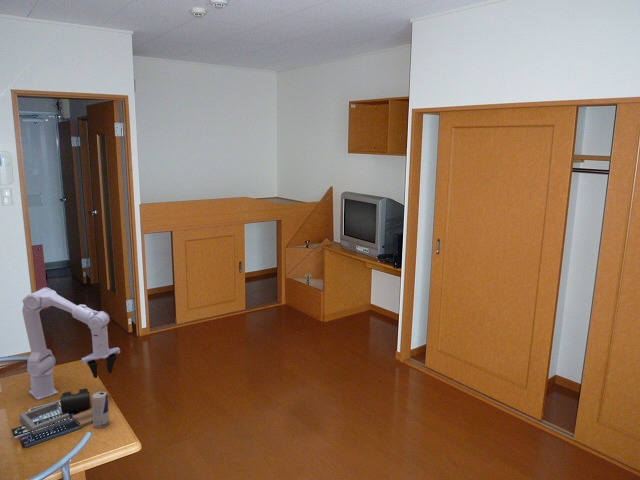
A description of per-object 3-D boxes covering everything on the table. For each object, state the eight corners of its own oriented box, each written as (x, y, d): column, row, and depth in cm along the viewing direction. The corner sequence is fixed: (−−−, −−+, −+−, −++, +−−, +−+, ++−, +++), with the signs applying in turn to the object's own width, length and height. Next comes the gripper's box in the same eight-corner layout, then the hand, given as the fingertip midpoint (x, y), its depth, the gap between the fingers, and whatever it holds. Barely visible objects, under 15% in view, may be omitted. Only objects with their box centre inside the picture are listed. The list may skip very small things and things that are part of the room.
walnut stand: (72, 419, 185) (71, 416, 185) (93, 410, 191) (93, 407, 191) (81, 427, 180) (81, 424, 180) (103, 418, 186) (102, 415, 186)
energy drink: (112, 421, 184) (110, 391, 182) (103, 429, 179) (101, 399, 177) (99, 419, 186) (97, 389, 183) (90, 427, 180) (88, 397, 178)
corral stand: (20, 420, 183) (19, 414, 183) (56, 407, 193) (55, 401, 192) (33, 434, 175) (32, 428, 174) (69, 420, 184) (69, 414, 184)
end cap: (61, 416, 187) (60, 400, 185) (61, 407, 193) (60, 391, 191) (90, 410, 191) (89, 394, 190) (90, 402, 197) (88, 386, 196)
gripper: (86, 351, 187) (88, 384, 190) (122, 340, 198) (124, 371, 201) (78, 346, 192) (80, 378, 195) (114, 335, 202) (116, 366, 205)
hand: (102, 374), depth 198 cm, fingers open, 5 cm apart
